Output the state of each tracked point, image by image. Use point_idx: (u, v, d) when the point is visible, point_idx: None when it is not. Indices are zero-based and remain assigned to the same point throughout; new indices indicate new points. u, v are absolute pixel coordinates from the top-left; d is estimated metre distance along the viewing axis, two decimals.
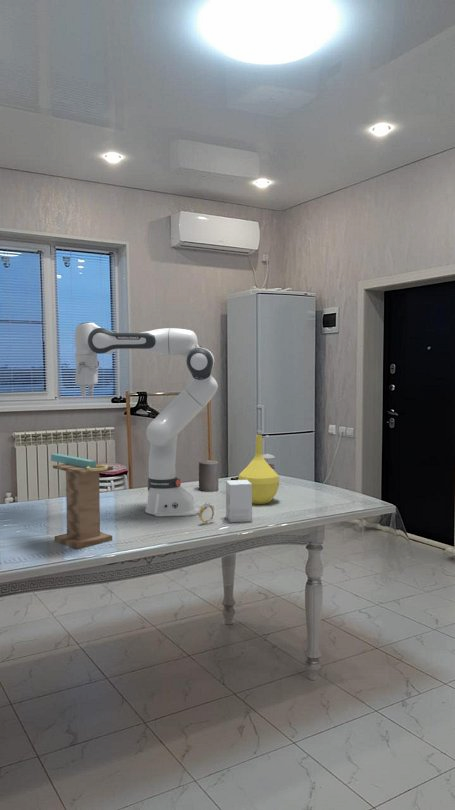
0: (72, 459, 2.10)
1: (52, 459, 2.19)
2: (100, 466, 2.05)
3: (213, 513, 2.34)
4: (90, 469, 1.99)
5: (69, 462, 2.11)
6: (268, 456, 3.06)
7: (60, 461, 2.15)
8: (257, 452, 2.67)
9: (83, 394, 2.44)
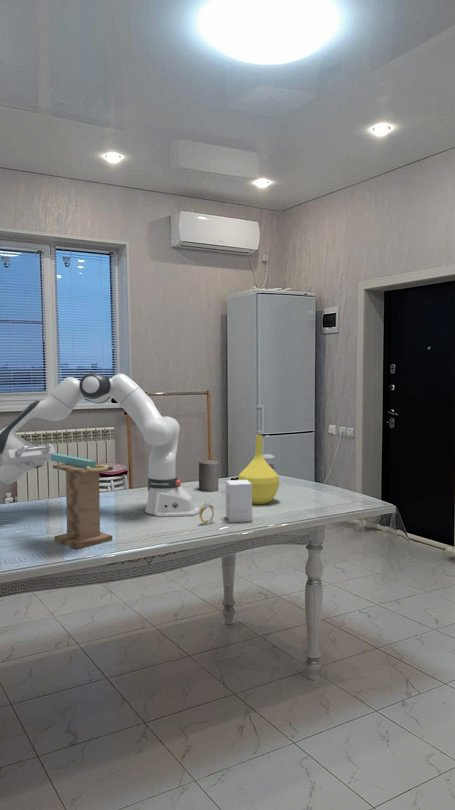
0: (72, 459, 2.10)
1: (52, 459, 2.19)
2: (100, 466, 2.05)
3: (213, 513, 2.34)
4: (90, 469, 1.99)
5: (69, 462, 2.11)
6: (268, 456, 3.06)
7: (60, 461, 2.15)
8: (257, 452, 2.67)
9: (23, 448, 2.24)
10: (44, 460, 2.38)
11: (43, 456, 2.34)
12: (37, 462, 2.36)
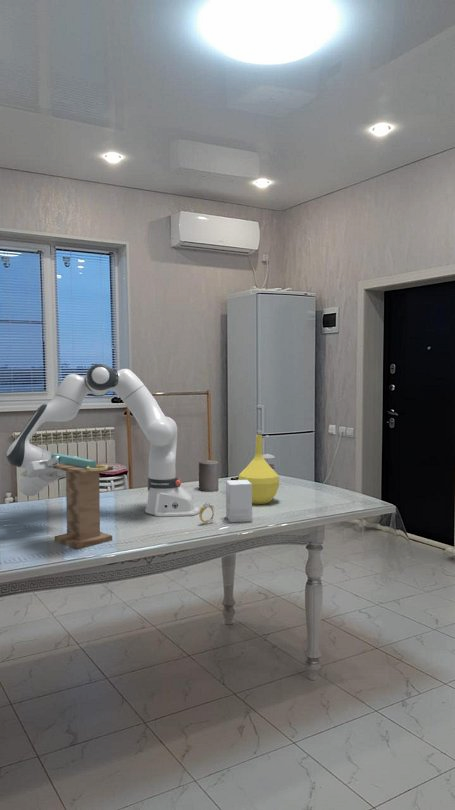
0: (72, 459, 2.10)
1: None
2: (100, 466, 2.05)
3: (213, 513, 2.34)
4: (90, 469, 1.99)
5: (69, 462, 2.11)
6: (268, 456, 3.06)
7: (60, 461, 2.15)
8: (257, 452, 2.67)
9: (55, 459, 2.15)
10: None
11: None
12: (61, 473, 2.25)
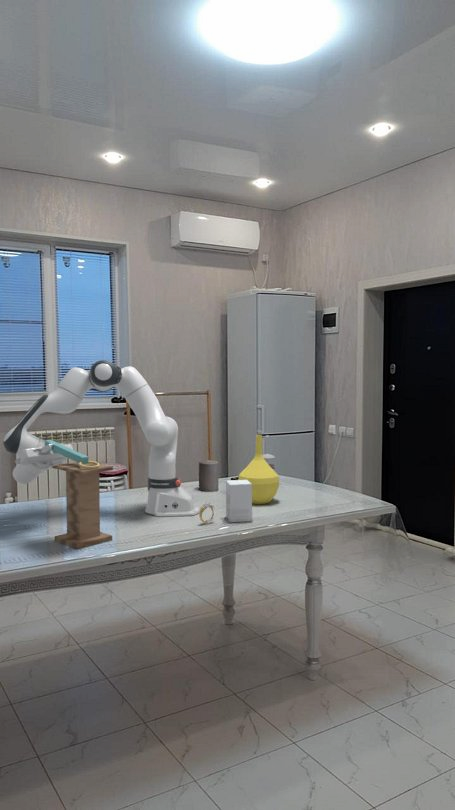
0: (65, 451, 2.12)
1: (46, 445, 2.21)
2: (92, 462, 2.08)
3: (213, 513, 2.34)
4: (82, 466, 2.02)
5: (62, 453, 2.14)
6: (268, 456, 3.06)
7: (53, 449, 2.18)
8: (257, 452, 2.67)
9: (48, 446, 2.17)
10: (61, 459, 2.30)
11: (61, 455, 2.26)
12: (54, 461, 2.28)
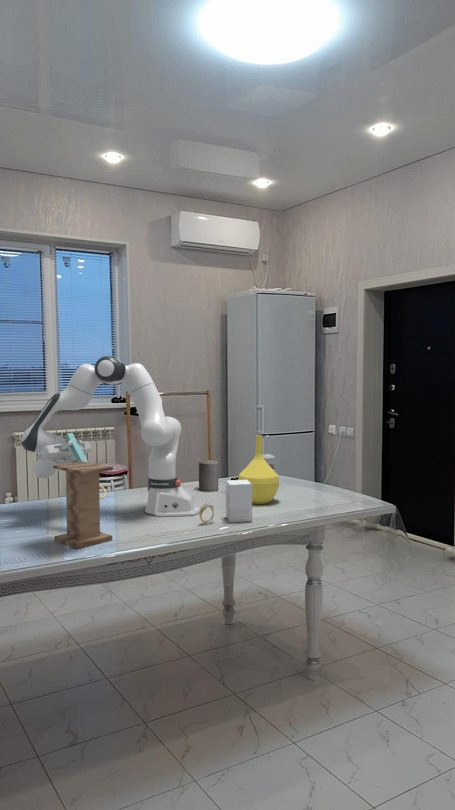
0: None
1: (66, 438, 2.33)
2: (100, 487, 2.26)
3: (213, 513, 2.34)
4: None
5: (78, 460, 2.29)
6: (268, 456, 3.06)
7: (71, 449, 2.31)
8: (257, 452, 2.67)
9: (68, 443, 2.30)
10: None
11: None
12: (73, 457, 2.41)
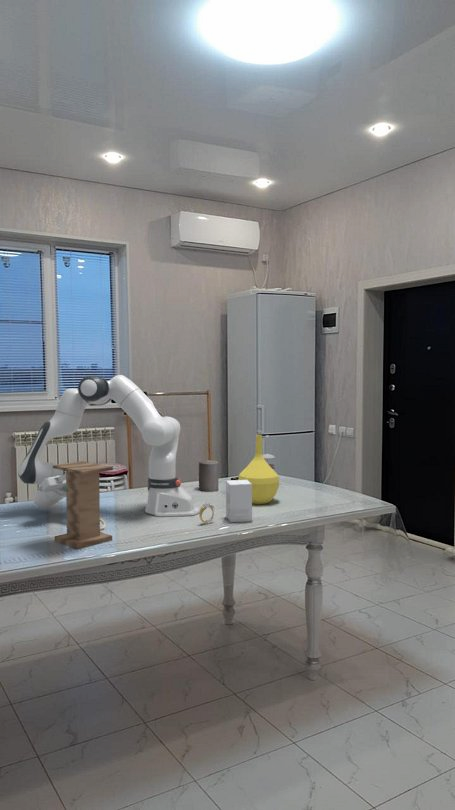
0: None
1: None
2: None
3: (213, 513, 2.34)
4: None
5: None
6: (268, 456, 3.06)
7: None
8: (257, 452, 2.67)
9: (65, 475, 2.30)
10: None
11: None
12: None
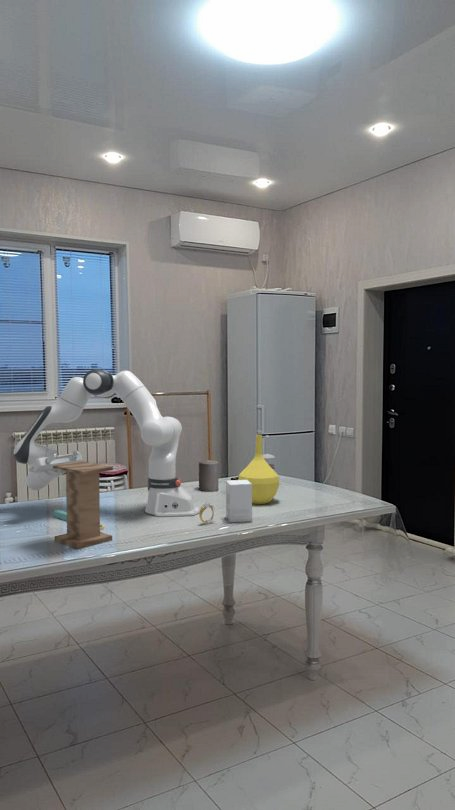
0: None
1: (54, 515, 2.42)
2: None
3: (213, 513, 2.34)
4: None
5: None
6: (268, 456, 3.06)
7: (62, 518, 2.38)
8: (257, 452, 2.67)
9: (53, 456, 2.32)
10: None
11: None
12: None
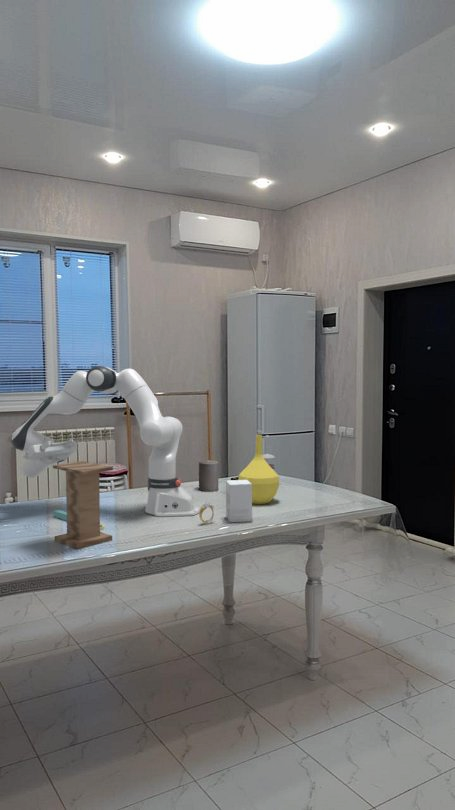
0: None
1: (54, 515, 2.42)
2: None
3: (213, 513, 2.34)
4: None
5: None
6: (268, 456, 3.06)
7: (62, 518, 2.38)
8: (257, 452, 2.67)
9: (47, 443, 2.35)
10: (66, 455, 2.49)
11: (65, 451, 2.45)
12: (59, 457, 2.47)
